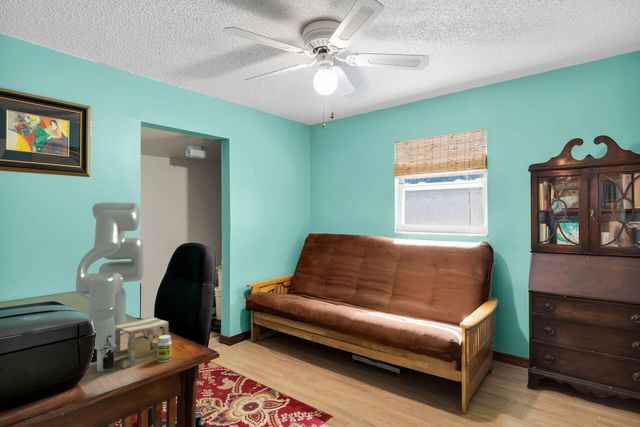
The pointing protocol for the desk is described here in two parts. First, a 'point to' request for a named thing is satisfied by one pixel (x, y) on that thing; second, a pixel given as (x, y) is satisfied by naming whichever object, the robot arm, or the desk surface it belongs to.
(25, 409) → the desk surface
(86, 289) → the robot arm
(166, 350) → the supplement bottle
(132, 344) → the birch shelf
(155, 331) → the game die
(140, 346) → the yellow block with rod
